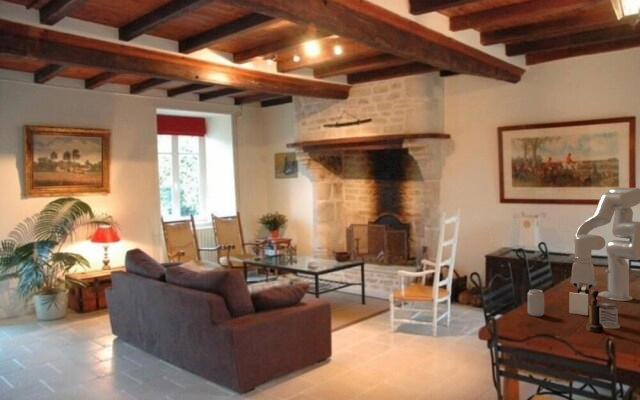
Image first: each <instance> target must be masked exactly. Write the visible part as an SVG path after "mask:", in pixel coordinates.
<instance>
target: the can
mask: <svg viewBox="0 0 640 400" xmlns="http://www.w3.org/2000/svg"><path fill="white" fill-rule="evenodd" d="M527 314H528V315H529V316H532V317H542V316H543V315H545V293H544V292H543V290H542V289H529V290H528V292H527Z"/></svg>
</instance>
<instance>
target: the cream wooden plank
mask: <svg viewBox="0 0 640 400" xmlns="http://www.w3.org/2000/svg"><path fill="white" fill-rule="evenodd" d="M585 289H586V284H585V285H584V284H583V285H582V286H581V291H580V293H582V294H585Z"/></svg>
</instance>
